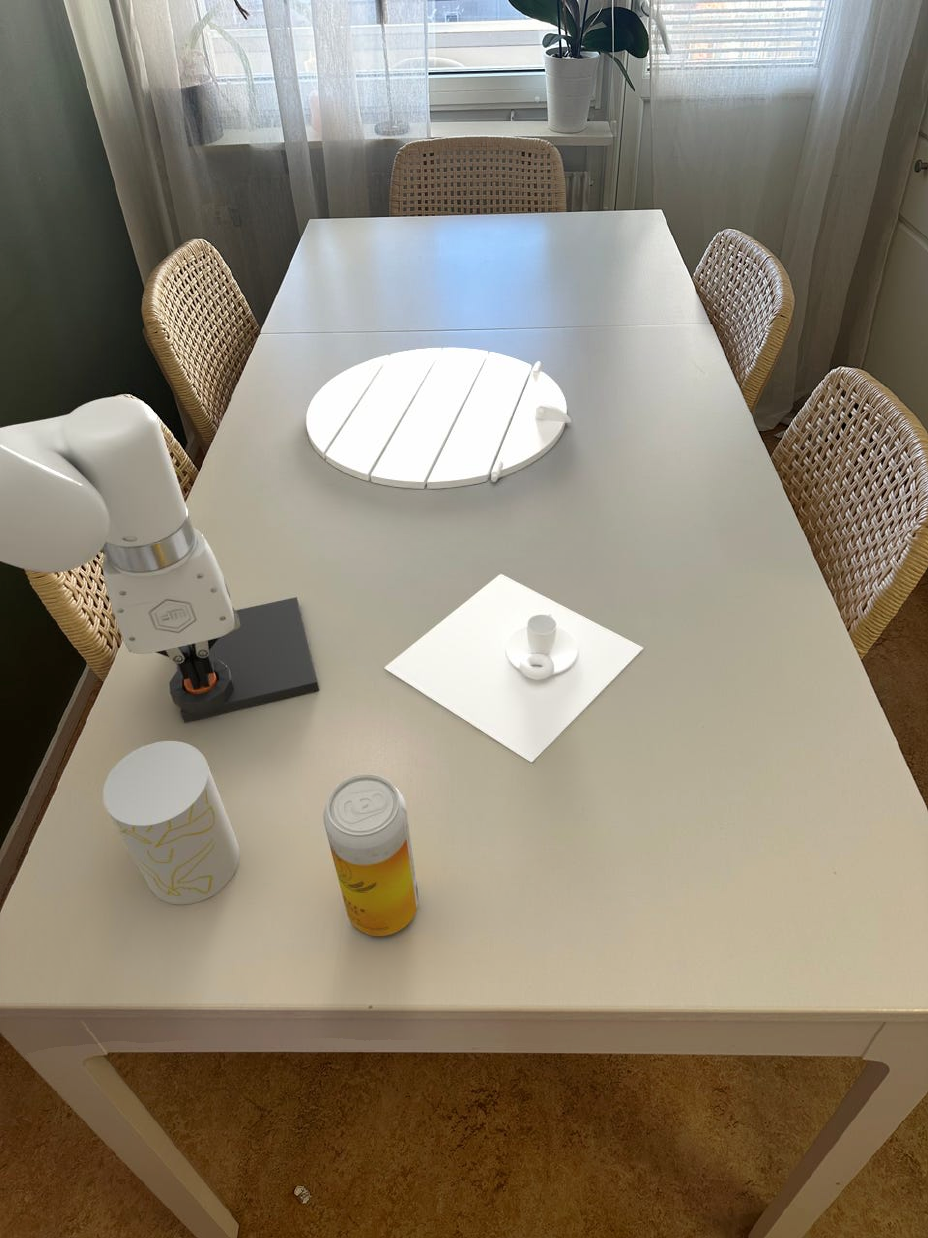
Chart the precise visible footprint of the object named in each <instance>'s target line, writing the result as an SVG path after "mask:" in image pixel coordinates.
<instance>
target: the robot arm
mask: <svg viewBox="0 0 928 1238" xmlns="http://www.w3.org/2000/svg"><path fill="white" fill-rule="evenodd" d="M177 476H178V475H177V473H176V470H175V467H174V464H173V461H172V457H171V455H170V451H169V448H168V445H167V442H166V439H165V436H164V433H163V430H162V426H161V424H160V422H159V419H158V416H157V415H156V413H155V412H154V410H153V409H152V408H151V407H150V406H149V405H148V404H146V403H145V402H144V401H141V400H139V399H136V398H134V397H133V398H132V397H128V396H108V397H102V398H99V399H95V400H92V401H89V402H86V403H84V404H82V405H80V406H78V407H77V408H75V409H74V410H72V411H71V412H70V413H67V414H63V415H59V416H55V417H49V418H46V419H39V420H34V421H29V422H24V423H18V424H12V425H7V426H3V427H0V562H1V563H5V564H7V565H11V566H14V567H16V568H20V569H24V570H27V571H31V572H37V573H47V574H50V573H64V572H67V571H68V572H69V571H72V570H75V569H78V568H80V567H82V566H84V565H86V564H88V563H89V562H91V561H92V560H93V559H94V558H95V557H97V556H98V555H99V553H102V554H103V561H102V565H101V567H102V574H103V579H104V585H105V589H106V593H107V596H108V600H109V603H110V606H111V611H112V613H113V616H114V618H115V621H116V624H117V627H118V631H119V633H120V636H121V638H122V641H123V643H124V645H125V647H126V649H127V650H128V652H130V653H133V654H136V655H147V654H153V653H156V654H158V655H161V656H164V657H166V658H169V659H170V660H171V661H172V663H174V664H176V665H177V664H178V665H179V668H180V671H181V673H182V676H183V678H184V680H185V679H190V681H191V683H192V686H193V689H194V690H195V689H199V687H201V684H202V686H204V687H208V686H210V682H209V674H211V673H214V666H213V662H212V659H211V656H210V653H209V650H210V649H211V647H212V646H213V645H214V644H215V643H216V641H217V640H218V639H219V638H220V637H222V636H224V635H226V634H228V633H230V632H232V631H234V630H237V629H239V628H240V626H241V625H240V619H239V616H238V614H237V613H236V611H235V608H234V607H233V605H232V601H231V594H230V592H229V591H230V590H229V588H228V585H227V583H226V580H225V577H224V575H223V572H222V570H221V567H220V565H219V562H218V561H217V558H216V556H215V554H214V552H213V550H212V548H211V546H210V544H209V542H208V541H207V539H206V537H205V536H204V535H203V534H202V532H201V531H200V530H199V529H198V528H195V527H193V524H192V521H191V517H190V514H189V512H188V507H187V505H186V502H185V499H184V495H183V492H182V489H181V486H180V483H179V479H178V477H177ZM191 644H192V647H191ZM200 681H201V682H200Z"/></svg>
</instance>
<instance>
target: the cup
mask: <svg viewBox="0 0 928 1238" xmlns="http://www.w3.org/2000/svg"><path fill="white" fill-rule="evenodd" d="M102 801H103V805H104V807H105V809H106V811H107V813H108V815H109V816H110V819H111V820H112V822H113V824H114V825H115V828H116V829H117V831H118V833H119V835H120V836H121V838H122V840H123V842H124V844H125V846H126V848H127V849H128V851H129V853H130V855H131V856H132V859H133V860H134V863H136V865H137V867H138V869H139V871H140V873H141V875H142V876H143V879H144V880H145V882H146V883H147V885H148V887H149V889H150V891H151V892H152V893H153V895H155V896H156V897H157V898H158V899H159V900H161V901H163V902H165V903H168V904H172V905H180V906H181V905H183V906H184V905H185V906H186V905H193V904H197V903H200V902H203V901H206V900H208V899H209V898H211V897H213V896H215V895H216V894H218V893H219V892H220V891H221V890H223V889H224V888H225V887H226V886H227V885H228V883H230V882H231V880H232V878H233V877H234V875H235V874H236V871H237V869H238V866H239V863H240V858H241V857H240V856H241V851H240V845H239V842H238V840H237V837H236V834H235V832H234V829H233V827H232V824H231V822H230V818H229V816H228V813H227V811H226V809H225V805H224V803H223V800H222V798H221V796H220V793H219V791H218V788H217V785H216V783H215V780H214V777H213V775H212V773H211V770H210V768H209V765H208V761H207V759H206V758H205V756H204V755H203V753H202V751H200V750H199V749H198V748H197V747H195V746H194V745H191V744H189V743H187V742H183V741H178V740H161V741H156V742H151V743H149V744H146V745H142V746H141V747H138V748H137V749H135V750H133V751H131V752H129V753H128V754H126V756H124V757H122V758H121V759H120V760H119V761H118V762H117V763H116V765H114V767H113V768H112V769H111V770H110V772H109V774H108V775H107V777H106V780H105V782H104V785H103V789H102Z"/></svg>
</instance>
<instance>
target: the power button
mask: <svg viewBox="0 0 928 1238" xmlns="http://www.w3.org/2000/svg"><path fill="white" fill-rule="evenodd" d="M200 682H201V681H200ZM209 682H210V686H208V687H204V686H202V684H201V687H199V689H195V690H194V689H193V686H192V683H191V681H190V679H185V680H184V686H185V688H186V691H187V693H188V694H194V695H198V694H202V693H206V692H208V691H209V690H211V689H212V688H214V687H215V686H216V684H217V682H218V681H217V678H216V675H215V673H211V674H209Z"/></svg>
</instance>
